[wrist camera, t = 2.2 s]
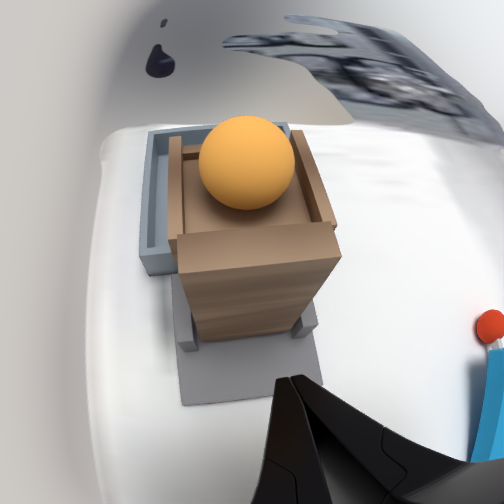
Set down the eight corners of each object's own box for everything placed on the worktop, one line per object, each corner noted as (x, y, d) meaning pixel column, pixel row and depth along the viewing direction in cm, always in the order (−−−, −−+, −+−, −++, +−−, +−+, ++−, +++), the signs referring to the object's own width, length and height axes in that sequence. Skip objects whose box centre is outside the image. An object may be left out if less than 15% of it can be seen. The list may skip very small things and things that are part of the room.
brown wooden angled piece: (294, 329, 21) (351, 255, 11) (196, 342, 20) (167, 274, 11) (275, 236, 25) (303, 125, 15) (188, 244, 24) (168, 132, 14)
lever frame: (319, 386, 21) (339, 380, 17) (183, 405, 20) (173, 404, 16) (294, 267, 26) (306, 239, 22) (173, 279, 25) (163, 252, 21)
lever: (479, 462, 21) (500, 310, 25) (517, 479, 14) (546, 303, 18) (435, 479, 21) (459, 311, 25) (474, 503, 14) (509, 305, 18)
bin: (315, 259, 26) (326, 238, 23) (149, 276, 25) (139, 256, 21) (282, 146, 33) (286, 122, 30) (153, 155, 31) (148, 131, 28)
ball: (296, 225, 14) (315, 155, 10) (203, 233, 13) (197, 161, 10) (277, 164, 16) (287, 98, 12) (199, 169, 15) (195, 101, 12)
